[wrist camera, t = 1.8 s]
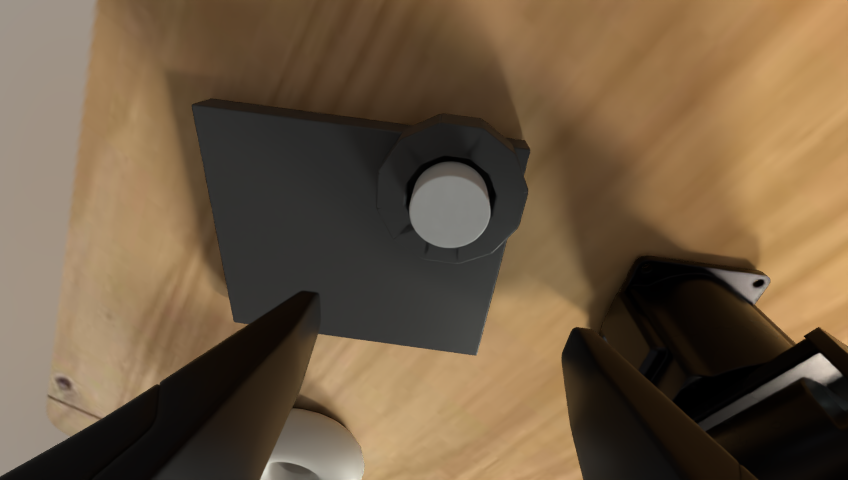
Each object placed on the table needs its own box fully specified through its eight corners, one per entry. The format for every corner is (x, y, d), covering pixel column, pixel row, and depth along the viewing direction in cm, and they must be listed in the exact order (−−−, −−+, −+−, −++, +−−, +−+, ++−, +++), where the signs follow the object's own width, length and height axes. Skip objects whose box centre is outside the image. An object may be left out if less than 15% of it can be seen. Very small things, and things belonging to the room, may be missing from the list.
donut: (285, 376, 26) (217, 435, 30) (263, 422, 23) (191, 481, 27) (395, 442, 29) (320, 489, 33) (388, 491, 26) (307, 535, 30)
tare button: (494, 166, 14) (498, 180, 13) (479, 234, 16) (481, 253, 14) (416, 155, 14) (412, 169, 13) (409, 224, 16) (405, 242, 15)
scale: (531, 117, 16) (545, 136, 13) (475, 338, 22) (478, 379, 20) (205, 74, 16) (157, 84, 13) (245, 306, 23) (217, 343, 20)
